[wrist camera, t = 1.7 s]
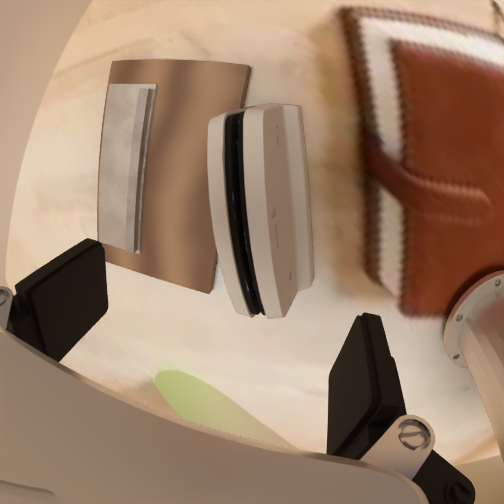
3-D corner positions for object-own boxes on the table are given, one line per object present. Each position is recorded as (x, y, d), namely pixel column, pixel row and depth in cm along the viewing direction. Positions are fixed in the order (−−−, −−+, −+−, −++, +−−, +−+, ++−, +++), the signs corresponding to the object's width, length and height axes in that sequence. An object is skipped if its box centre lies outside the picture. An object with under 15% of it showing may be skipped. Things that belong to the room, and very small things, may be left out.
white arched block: (313, 281, 29) (293, 347, 21) (267, 279, 31) (231, 340, 22) (300, 102, 23) (270, 87, 15) (247, 108, 25) (192, 101, 16)
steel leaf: (158, 84, 24) (150, 83, 22) (141, 252, 31) (134, 257, 29) (111, 84, 24) (103, 83, 23) (101, 240, 31) (93, 244, 30)
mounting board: (251, 68, 23) (248, 65, 22) (212, 288, 32) (209, 294, 31) (118, 62, 24) (112, 61, 23) (104, 254, 33) (98, 258, 32)
